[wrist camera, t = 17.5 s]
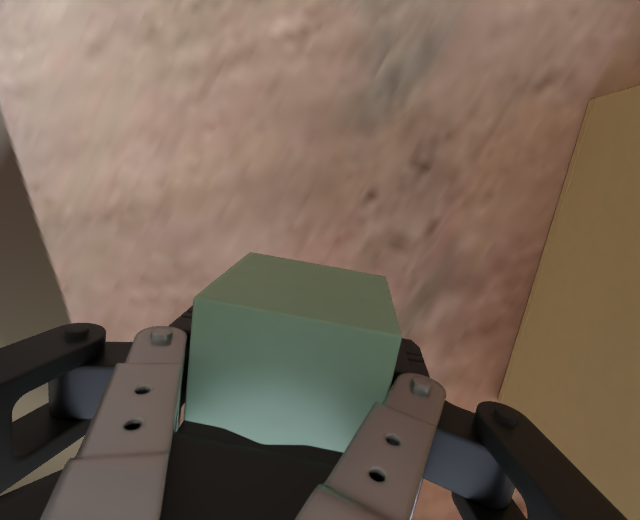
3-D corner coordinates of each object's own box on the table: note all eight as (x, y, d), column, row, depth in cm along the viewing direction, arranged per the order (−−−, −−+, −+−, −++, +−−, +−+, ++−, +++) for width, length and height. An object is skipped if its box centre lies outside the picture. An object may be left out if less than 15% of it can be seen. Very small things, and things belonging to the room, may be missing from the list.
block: (249, 251, 14) (192, 296, 9) (386, 276, 14) (402, 336, 9) (235, 373, 15) (178, 470, 10) (360, 397, 15) (362, 509, 10)
